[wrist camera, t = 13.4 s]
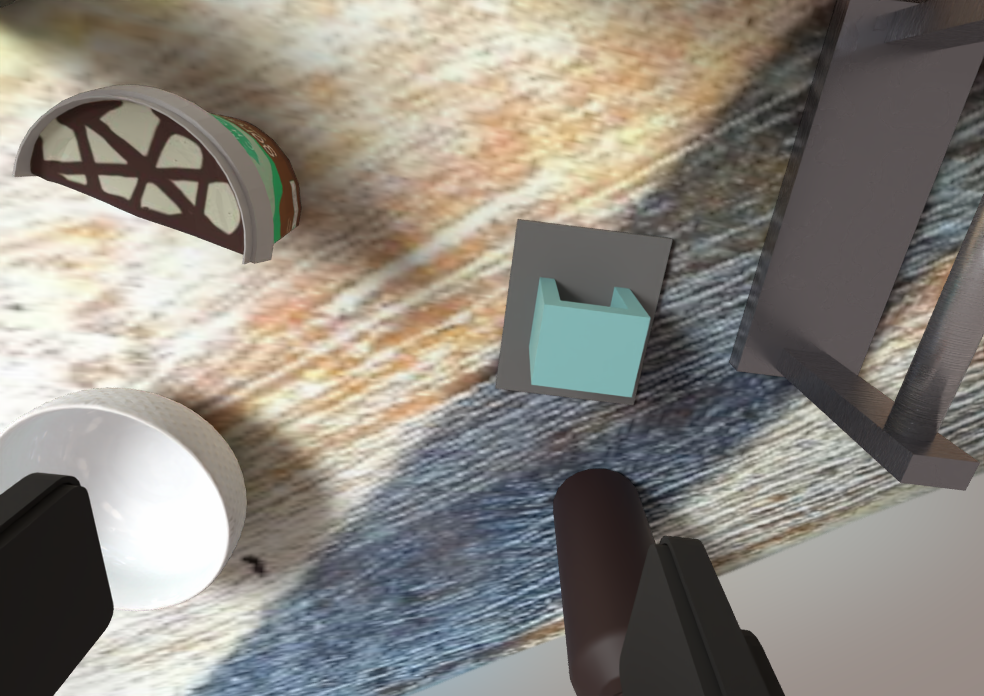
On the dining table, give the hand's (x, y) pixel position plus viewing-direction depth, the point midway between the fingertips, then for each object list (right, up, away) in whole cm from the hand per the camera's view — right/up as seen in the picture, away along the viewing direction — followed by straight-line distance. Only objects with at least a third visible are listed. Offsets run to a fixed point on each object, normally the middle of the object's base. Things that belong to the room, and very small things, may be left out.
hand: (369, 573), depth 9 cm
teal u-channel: (+8, +6, +28) cm, 30 cm away
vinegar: (+10, -8, +35) cm, 37 cm away
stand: (+24, +12, +26) cm, 37 cm away
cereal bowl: (-24, -5, +35) cm, 42 cm away
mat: (+8, +6, +29) cm, 31 cm away
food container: (-14, +16, +26) cm, 34 cm away
